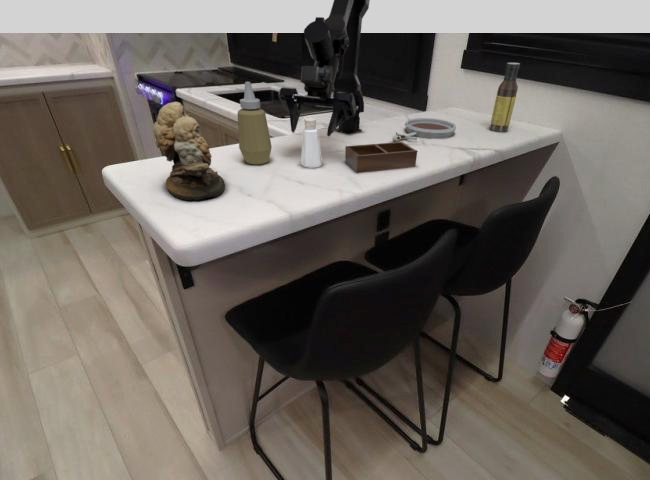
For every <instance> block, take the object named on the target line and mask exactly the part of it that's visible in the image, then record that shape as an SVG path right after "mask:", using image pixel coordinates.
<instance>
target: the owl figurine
mask: <svg viewBox="0 0 650 480" xmlns="http://www.w3.org/2000/svg"><path fill="white" fill-rule="evenodd" d="M156 118H157V119H156V121H155V122H154V123H153V130H152V132H153V133H152V134H153V135H154V139H155V145H156V147H157V149H158V148H159V151H160V152H161V154H162V155H163V156H164V157H165V158H166V161H167V162H173V164H172V166H171V171H170V172H169V176H167V178H166V180H165V186H166V190H167V191H168V193H169V194H170V195H171V196H173V197H175V198H176V199H177V198H178V199H180V200H185V201H192V200H194V201H199V200H202V199H207V198H214V197H218V196H220V195H222V194H224V191H225V189H226V184H225V180H224V179H223V177H222V176H221V175H220V174H219V173H218V171H215V170H214V169H212V168H211V167H210V166H211V164H212V154H211V150H210V146H209V144H208V143H207V141H206V140H205V137H203V136H202V131H201V126H200V124H199V122H198V121H197V120H196V119H195V118H194V117H191V116H189V114H187V113H186V108H185V107H184V105H183V104H182V102H179V101H172V102H168V103H166V104H165V105H163V106H162V107H161V108H160V109H159V111H158V115H157V117H156ZM195 177H197V178H195Z"/></svg>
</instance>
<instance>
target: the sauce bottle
mask: <svg viewBox="0 0 650 480" xmlns="http://www.w3.org/2000/svg"><path fill="white" fill-rule="evenodd" d="M520 66H521V62H520V63H519V62H507V63H506V65H505V74H504V76H503V80H502V82H501V83H500V84H499V86H498V88H497V92H496V95H495V100H494V106H493V110H492V115H491V120H490V126H489V129H490V130H491V131H493V132H497V133H504V132H507V131H508V130H509V126H510V123H511V120H512V117H513V112H514V107H515V103H516V100H517V93H518V90H519V89H518V88H519V87H518V83H517V78H518V72H519V70H520Z"/></svg>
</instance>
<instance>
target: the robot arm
mask: <svg viewBox="0 0 650 480" xmlns="http://www.w3.org/2000/svg"><path fill="white" fill-rule="evenodd" d="M369 8H370V0H333V3H332V5H331V9H330V12H329V15H328V17H327V18H325V17H323V16H322V17H321V16H316V17H315V19H314V21H311V22H310V23H308V24H307V26H306V27H305V28H304V29H303V37H304V40H305V43H306V46H307V48H308V51H309V53H310V57H311V59H312V60H314V65H302V66H301V73H300V74H301V75H300V83H302V84H303V90H304V92H305V93H307V94H299V92H298V90H297V88H296V87H285V86H282V87H281V88H280V89H279V90H278V95H277V97H278V99H279V101H280V103H281V105H282V107H283V109H284V110H285V111H287V112H288V114H289V122H290V123H289V124H290V131H291V133H293V134H294V133H295V132H296V130H297V127H298V124H299V119H300V116H301V111H300V110H301V108H302V105H307V106H314V107H319V108H332V113H331V117H330V120H329V123H328V126H327V132H326V135H327V137H331V135H332V134H333V133H334V132H335V131H336V132H339V133H342V134H346V135H352V134H357V133H360V132H362V131H363V129H361V128H360V125H361V124H360V123H361V122H360V121H361V117H360V114H361V113H364V112H365V101H364V96H363V92H362V85H361V83H360V80H359V77H358V70H359V69H358V67H359V57H360V47H361V46H360V45H361V35H362V25H363V24H362V23H363V19H364V16H365V15H366V13H367V11H368V10H369ZM338 56H342V69H341V70H342V71H341V73H340V74H339V77H337V74H338V73H339V64H340V59H339V57H338Z"/></svg>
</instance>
